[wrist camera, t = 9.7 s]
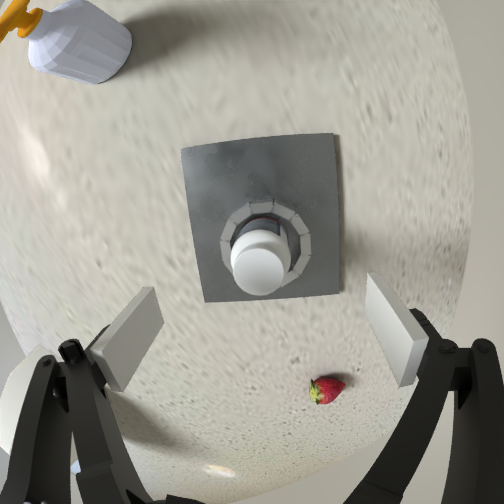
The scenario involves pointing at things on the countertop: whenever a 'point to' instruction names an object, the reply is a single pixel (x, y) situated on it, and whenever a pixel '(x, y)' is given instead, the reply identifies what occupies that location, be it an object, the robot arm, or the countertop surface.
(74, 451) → the white toy house
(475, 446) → the robot arm
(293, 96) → the countertop surface
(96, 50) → the soap bottle
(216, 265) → the duct plate
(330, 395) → the fruit
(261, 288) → the pill bottle
